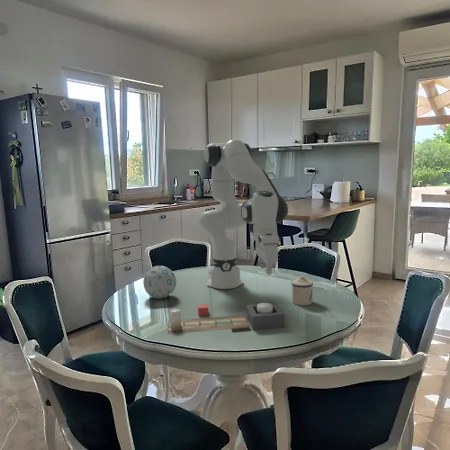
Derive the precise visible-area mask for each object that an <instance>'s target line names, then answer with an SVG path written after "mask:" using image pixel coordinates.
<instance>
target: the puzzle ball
mask: <svg viewBox="0 0 450 450" xmlns="http://www.w3.org/2000/svg"><path fill="white" fill-rule="evenodd" d="M176 286H177V277H176V275H175V273H174V271H172V269H171V268H169V267H167V266H164V265H156V266H153V267H151V268H150V269H149V270H147V272H146V273H145V274H144V277H143V288H144V290H145V292H146V294H148V295H149V296H150V297H152V298H154V299H158V300H161V299H165V298H167V297H169V296H170V295H172V294H173V292H174V291H175V289H176Z"/></svg>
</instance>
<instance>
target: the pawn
mask: <svg viewBox="0 0 450 450" xmlns="http://www.w3.org/2000/svg"><path fill="white" fill-rule="evenodd" d="M181 313H182V311H181V309H179V308H172V309H170V310H169V321H170V325H171V328H173V329H177V328H180V327H181V320H182V314H181Z"/></svg>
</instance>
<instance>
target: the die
mask: <svg viewBox="0 0 450 450" xmlns="http://www.w3.org/2000/svg"><path fill="white" fill-rule="evenodd" d="M209 312H210V311H209V304H208V303H206V304H205V303H204V304H197V313H198V316H208V315H209Z"/></svg>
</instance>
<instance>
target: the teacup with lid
mask: <svg viewBox="0 0 450 450" xmlns="http://www.w3.org/2000/svg"><path fill="white" fill-rule="evenodd" d="M313 285H314V282H313V281H312V280H310V279H307V278H306V277H305V276H303V275H301V276H299V278H297V279H294V280H292V281H291V290H292V291H291V292H292V293H291V299H292V300H291V301H292V303H293V304H294V305H297V306H309V305H312V303H313Z"/></svg>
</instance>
